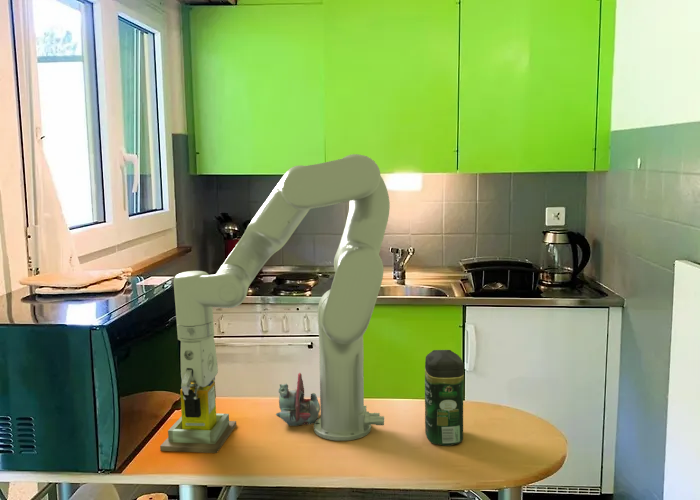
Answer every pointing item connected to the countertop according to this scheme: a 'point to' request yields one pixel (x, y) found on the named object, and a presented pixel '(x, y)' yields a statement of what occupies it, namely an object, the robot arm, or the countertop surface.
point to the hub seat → (199, 436)
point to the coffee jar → (444, 397)
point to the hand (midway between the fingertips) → (201, 407)
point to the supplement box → (207, 409)
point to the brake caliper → (297, 405)
